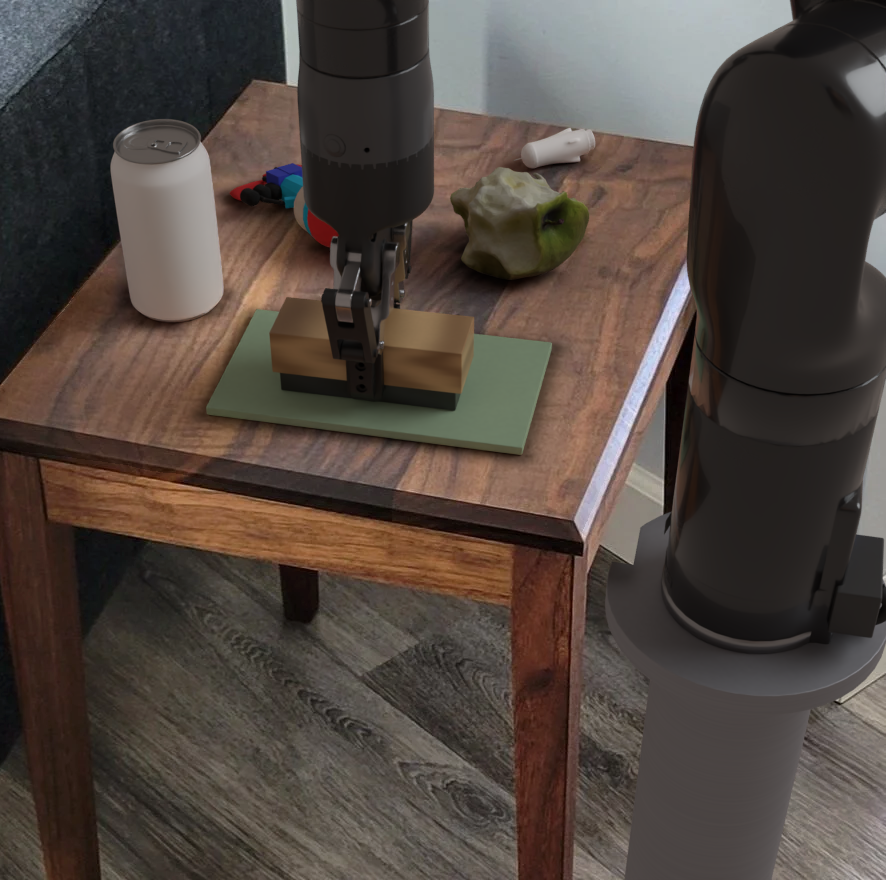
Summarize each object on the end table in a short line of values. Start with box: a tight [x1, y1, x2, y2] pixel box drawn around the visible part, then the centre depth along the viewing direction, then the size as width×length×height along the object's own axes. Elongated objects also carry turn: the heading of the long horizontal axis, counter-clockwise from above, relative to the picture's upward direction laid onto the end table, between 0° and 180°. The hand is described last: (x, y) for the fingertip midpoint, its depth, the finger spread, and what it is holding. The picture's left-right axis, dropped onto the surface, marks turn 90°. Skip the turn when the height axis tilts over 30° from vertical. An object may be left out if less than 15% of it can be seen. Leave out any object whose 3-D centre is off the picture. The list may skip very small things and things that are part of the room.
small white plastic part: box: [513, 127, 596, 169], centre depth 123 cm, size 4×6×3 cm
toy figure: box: [228, 162, 338, 249], centre depth 117 cm, size 8×5×15 cm
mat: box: [205, 308, 553, 456], centre depth 104 cm, size 20×11×1 cm, turn 75°
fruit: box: [449, 166, 590, 281], centre depth 112 cm, size 9×9×8 cm
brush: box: [269, 296, 475, 410], centre depth 102 cm, size 12×4×4 cm, turn 75°
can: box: [110, 118, 225, 323], centre depth 108 cm, size 6×6×12 cm
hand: (374, 373), depth 103 cm, fingers closed on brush, 4 cm apart
